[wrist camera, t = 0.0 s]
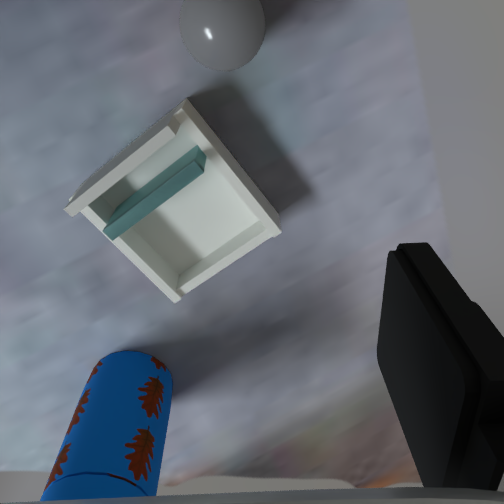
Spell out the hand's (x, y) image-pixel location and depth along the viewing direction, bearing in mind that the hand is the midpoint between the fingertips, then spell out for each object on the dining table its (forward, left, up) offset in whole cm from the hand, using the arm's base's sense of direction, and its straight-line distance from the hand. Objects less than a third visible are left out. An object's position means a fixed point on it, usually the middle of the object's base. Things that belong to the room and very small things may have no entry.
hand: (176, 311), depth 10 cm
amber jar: (-3, +2, -37) cm, 37 cm away
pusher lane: (+8, -12, -37) cm, 40 cm away
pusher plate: (+4, -12, -36) cm, 38 cm away
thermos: (+23, -34, -38) cm, 55 cm away
